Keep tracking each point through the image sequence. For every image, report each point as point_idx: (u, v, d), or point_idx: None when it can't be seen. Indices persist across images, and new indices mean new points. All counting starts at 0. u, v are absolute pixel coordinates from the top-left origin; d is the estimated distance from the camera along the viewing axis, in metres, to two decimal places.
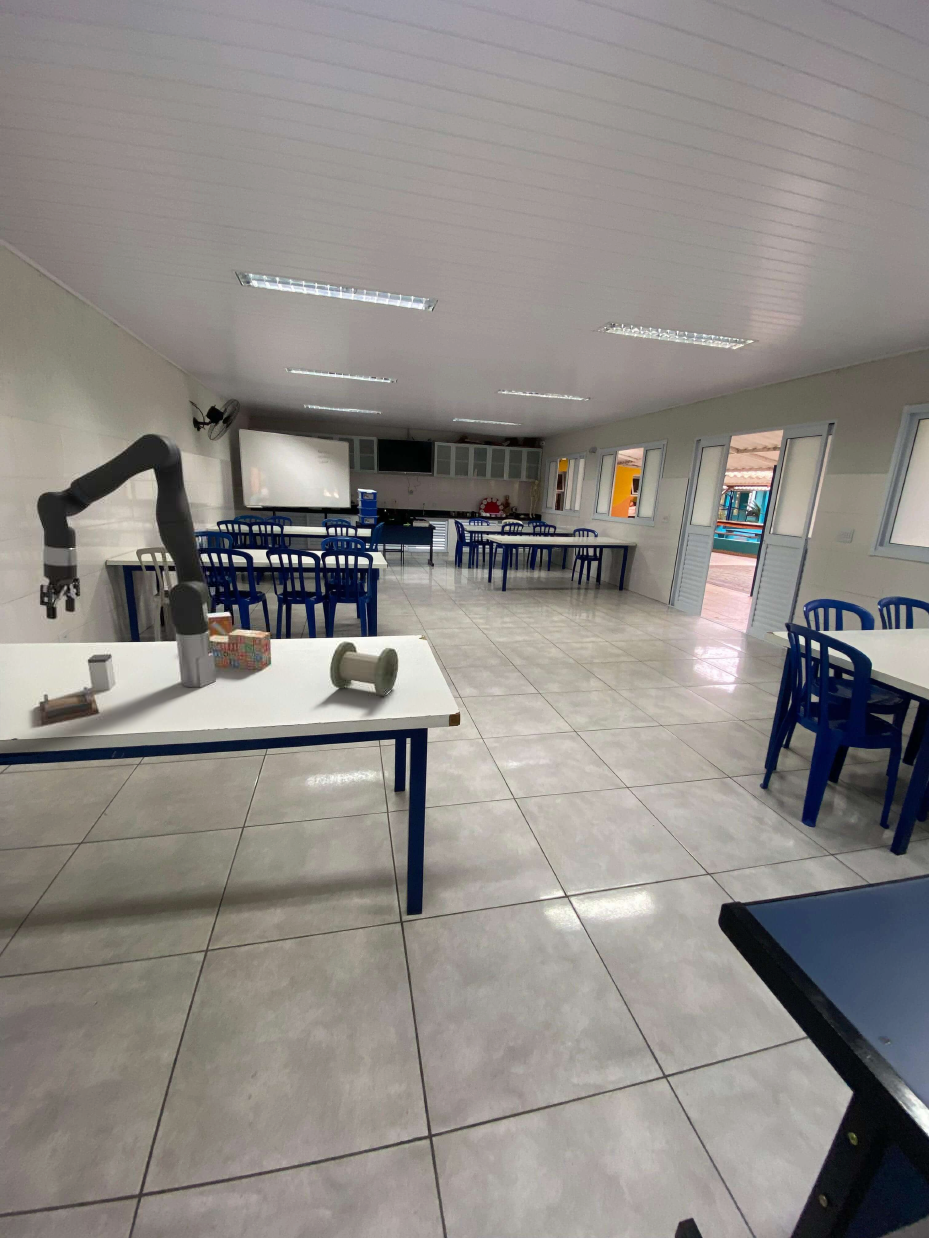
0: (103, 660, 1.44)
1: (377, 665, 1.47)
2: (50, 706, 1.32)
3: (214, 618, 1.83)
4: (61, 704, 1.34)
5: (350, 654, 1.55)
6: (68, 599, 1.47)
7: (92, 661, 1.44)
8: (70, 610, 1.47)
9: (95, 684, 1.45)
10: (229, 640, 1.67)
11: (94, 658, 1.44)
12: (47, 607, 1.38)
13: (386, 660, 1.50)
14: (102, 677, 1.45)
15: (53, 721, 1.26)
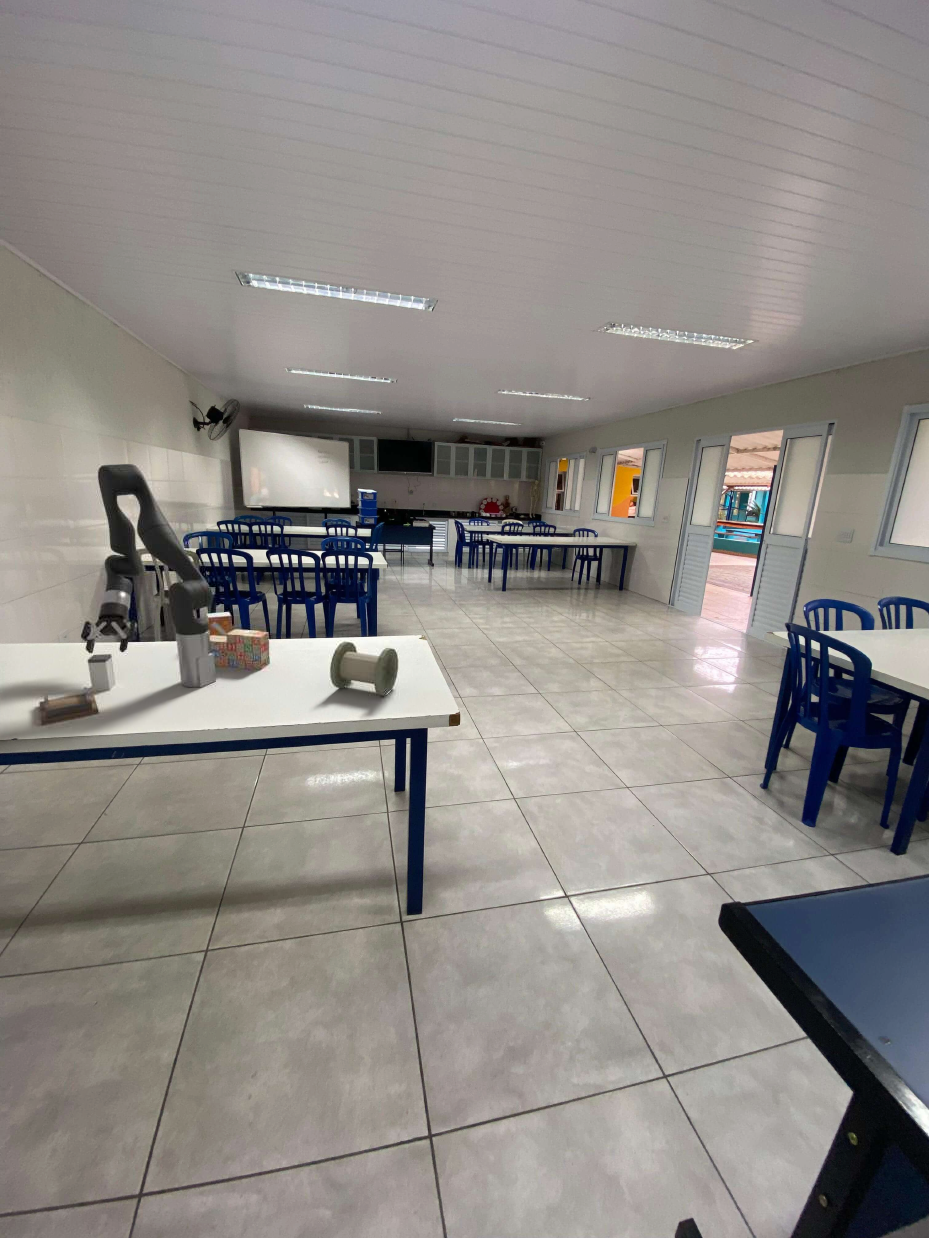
0: (103, 660, 1.44)
1: (377, 665, 1.47)
2: (50, 706, 1.32)
3: (214, 618, 1.83)
4: (61, 704, 1.34)
5: (350, 654, 1.55)
6: None
7: (92, 661, 1.44)
8: None
9: (95, 684, 1.45)
10: (228, 640, 1.67)
11: (94, 658, 1.44)
12: None
13: (386, 660, 1.50)
14: (102, 677, 1.45)
15: (53, 721, 1.26)
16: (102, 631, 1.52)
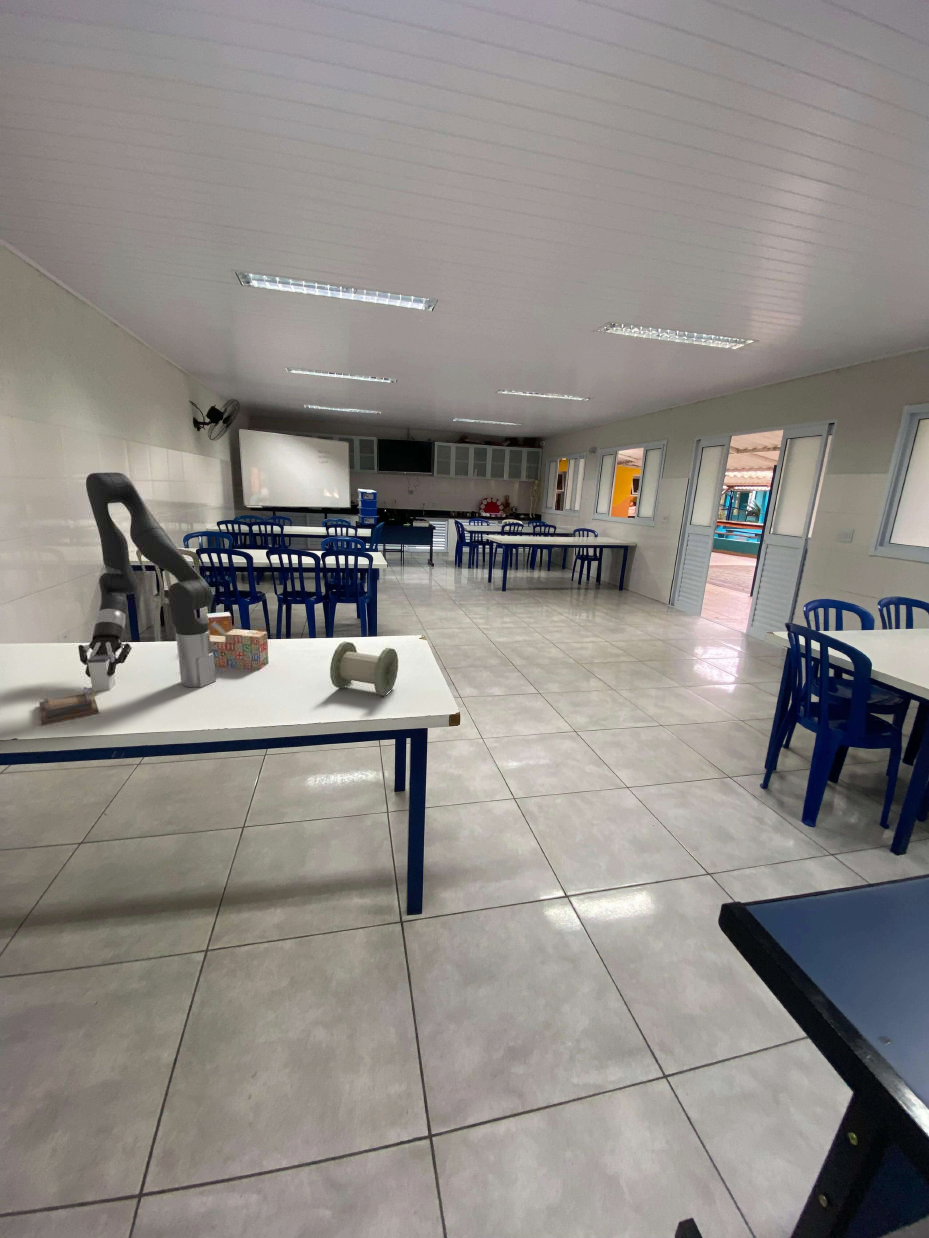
0: (103, 660, 1.44)
1: (377, 665, 1.47)
2: (50, 706, 1.32)
3: (214, 618, 1.83)
4: (61, 704, 1.34)
5: (350, 654, 1.55)
6: None
7: (92, 661, 1.44)
8: None
9: (95, 684, 1.45)
10: (226, 640, 1.67)
11: (94, 658, 1.44)
12: None
13: (386, 660, 1.50)
14: (102, 677, 1.45)
15: (53, 721, 1.26)
16: (99, 652, 1.48)
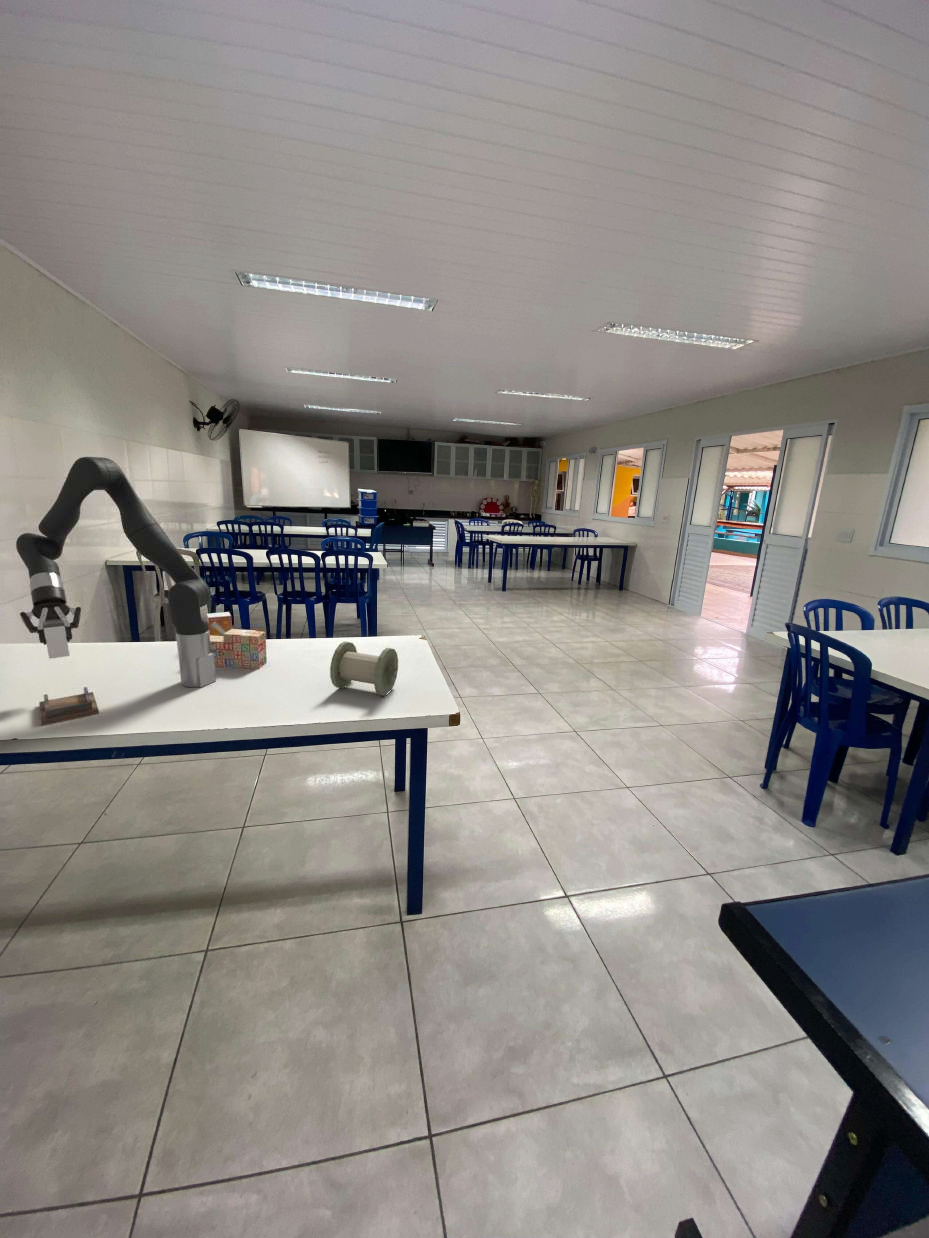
0: (61, 624, 1.36)
1: (377, 665, 1.47)
2: (50, 706, 1.32)
3: (214, 618, 1.83)
4: (61, 704, 1.34)
5: (350, 654, 1.55)
6: None
7: (48, 626, 1.34)
8: (66, 638, 1.37)
9: (53, 650, 1.36)
10: (224, 640, 1.67)
11: (49, 623, 1.35)
12: (38, 633, 1.35)
13: (386, 660, 1.50)
14: (60, 642, 1.36)
15: (53, 721, 1.26)
16: (48, 617, 1.37)
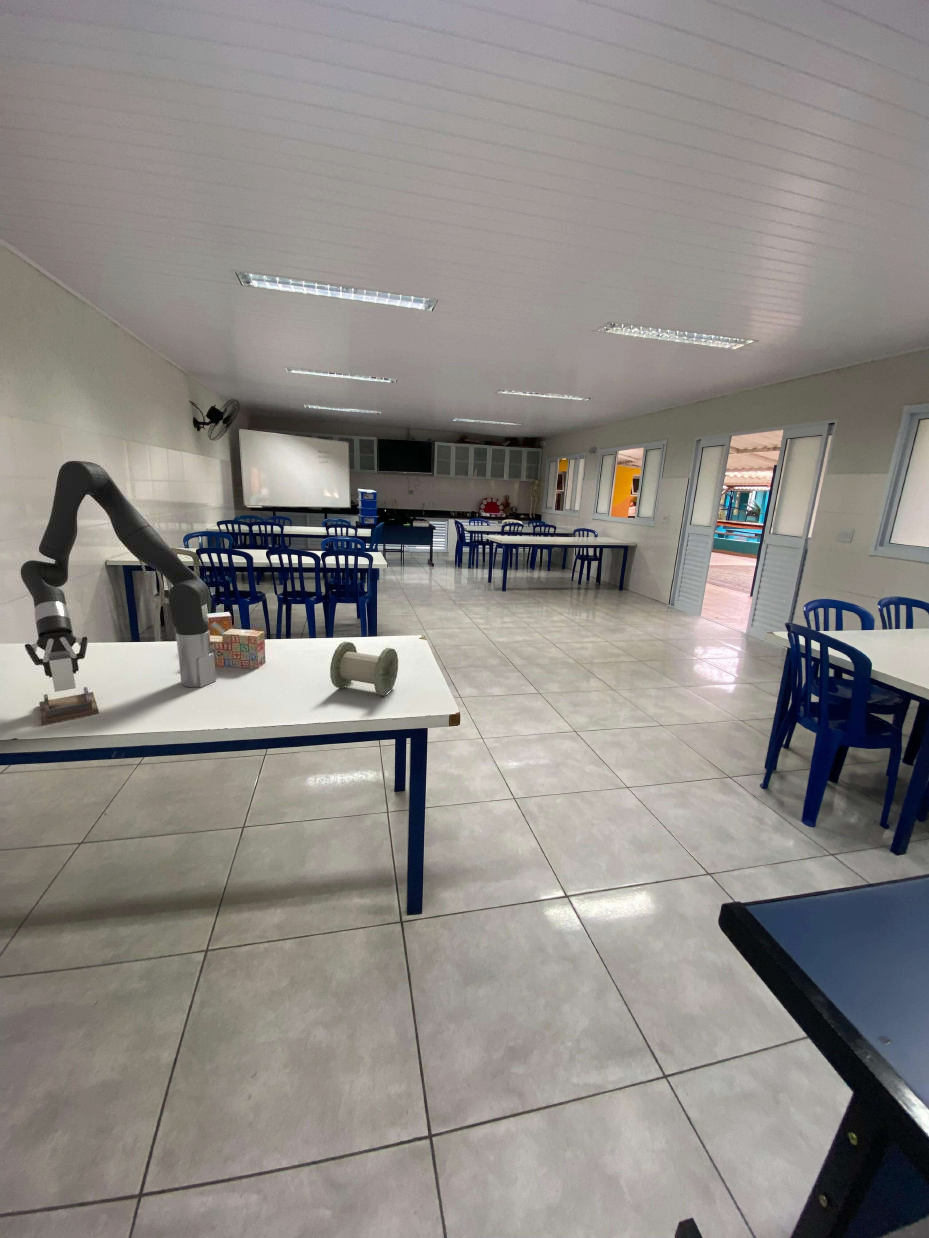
0: (68, 656, 1.31)
1: (377, 665, 1.47)
2: (50, 706, 1.32)
3: (214, 618, 1.83)
4: (61, 704, 1.34)
5: (350, 654, 1.55)
6: None
7: (54, 658, 1.29)
8: None
9: (58, 683, 1.31)
10: (223, 640, 1.67)
11: (55, 655, 1.30)
12: (43, 665, 1.31)
13: (386, 660, 1.50)
14: (66, 675, 1.32)
15: (53, 721, 1.26)
16: (54, 649, 1.33)
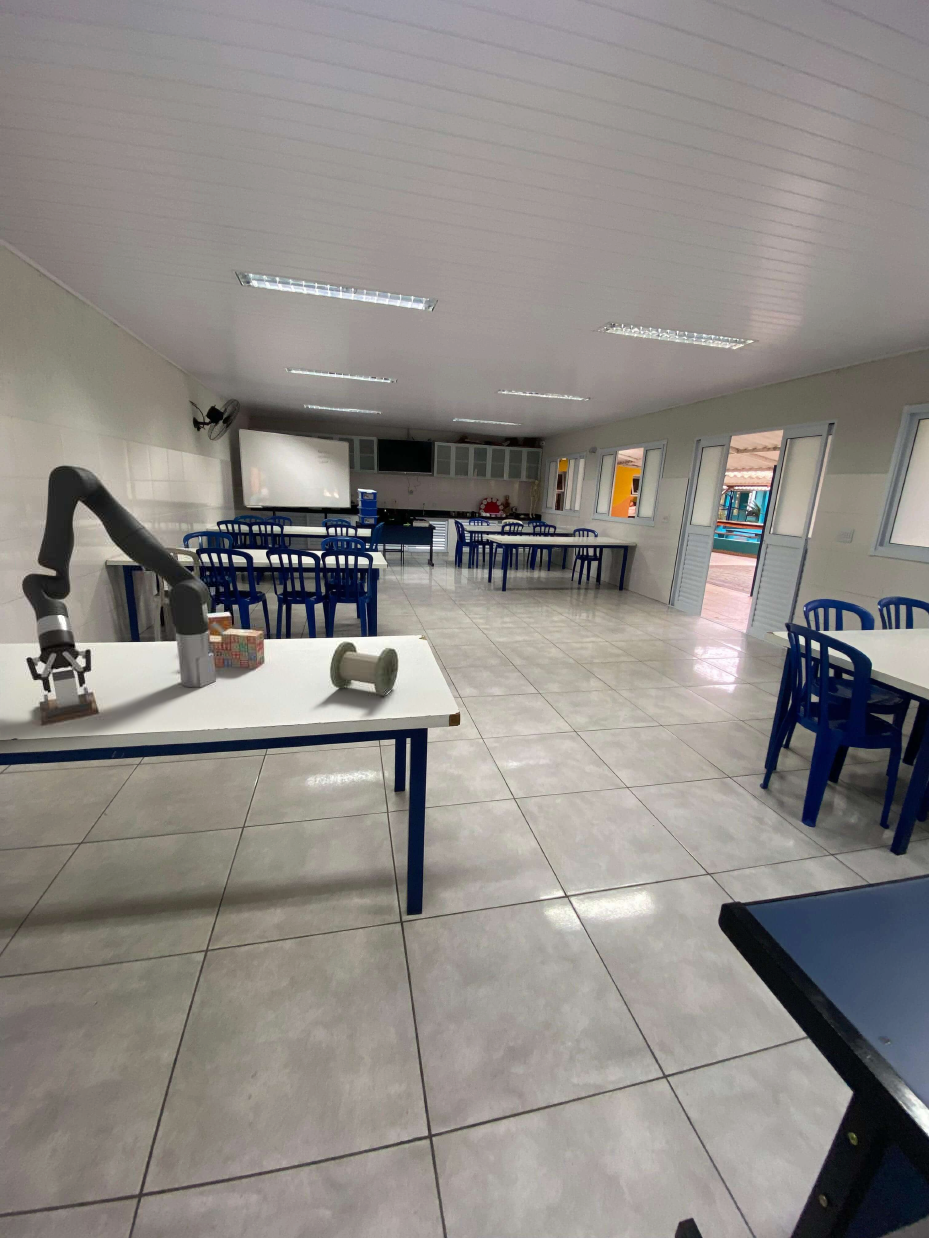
0: (72, 676, 1.29)
1: (377, 665, 1.47)
2: (50, 706, 1.32)
3: (214, 618, 1.83)
4: None
5: (350, 654, 1.55)
6: None
7: (58, 679, 1.28)
8: (79, 684, 1.31)
9: (63, 704, 1.30)
10: (222, 639, 1.67)
11: (59, 675, 1.28)
12: (41, 680, 1.28)
13: (386, 660, 1.50)
14: (71, 695, 1.30)
15: (53, 721, 1.26)
16: (55, 664, 1.30)
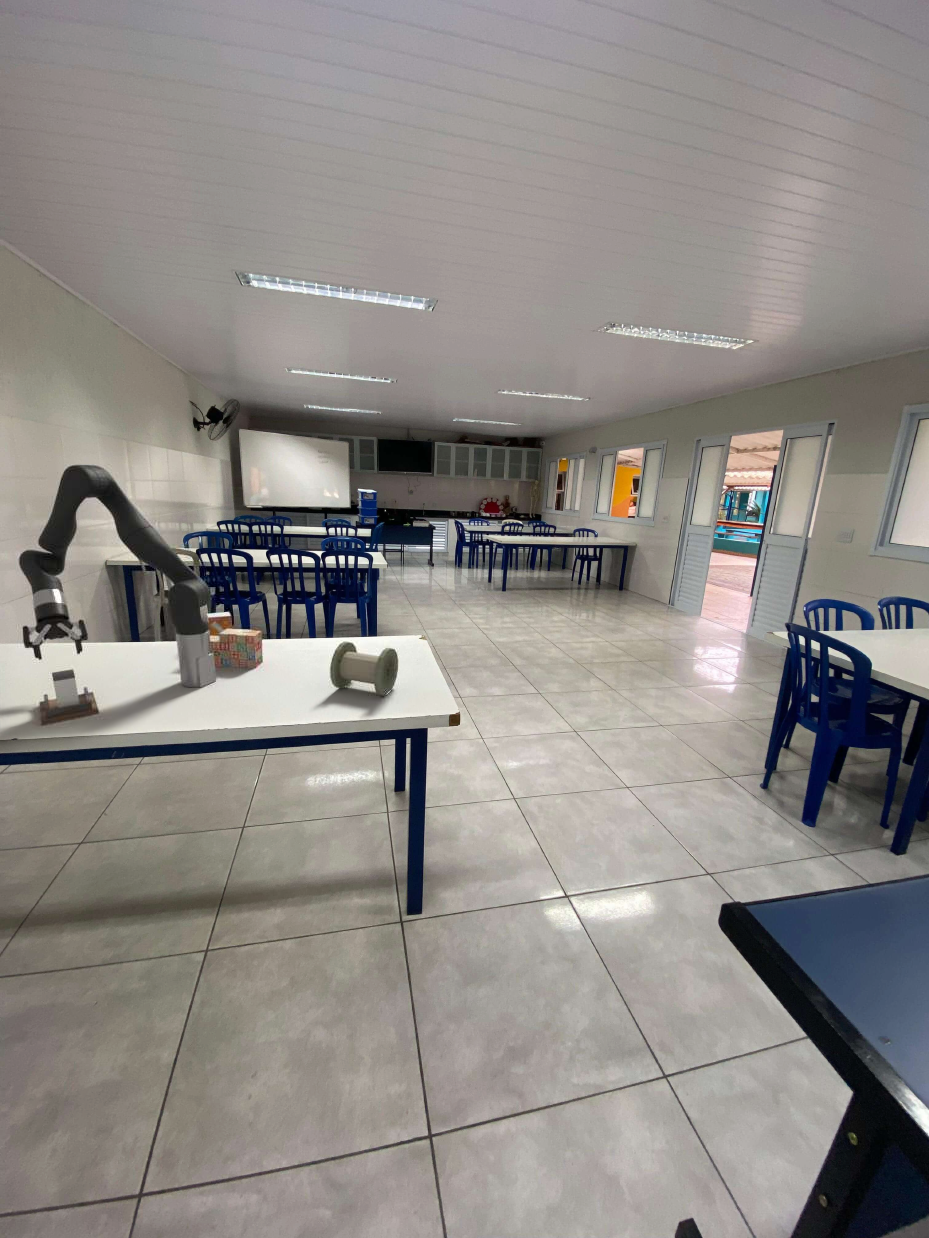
0: (72, 676, 1.29)
1: (377, 665, 1.47)
2: (50, 706, 1.32)
3: (214, 618, 1.83)
4: None
5: (350, 654, 1.55)
6: None
7: (58, 679, 1.28)
8: None
9: (63, 704, 1.30)
10: (220, 639, 1.67)
11: (59, 675, 1.28)
12: (33, 648, 1.36)
13: (386, 660, 1.50)
14: (71, 695, 1.30)
15: (53, 721, 1.26)
16: (48, 634, 1.38)
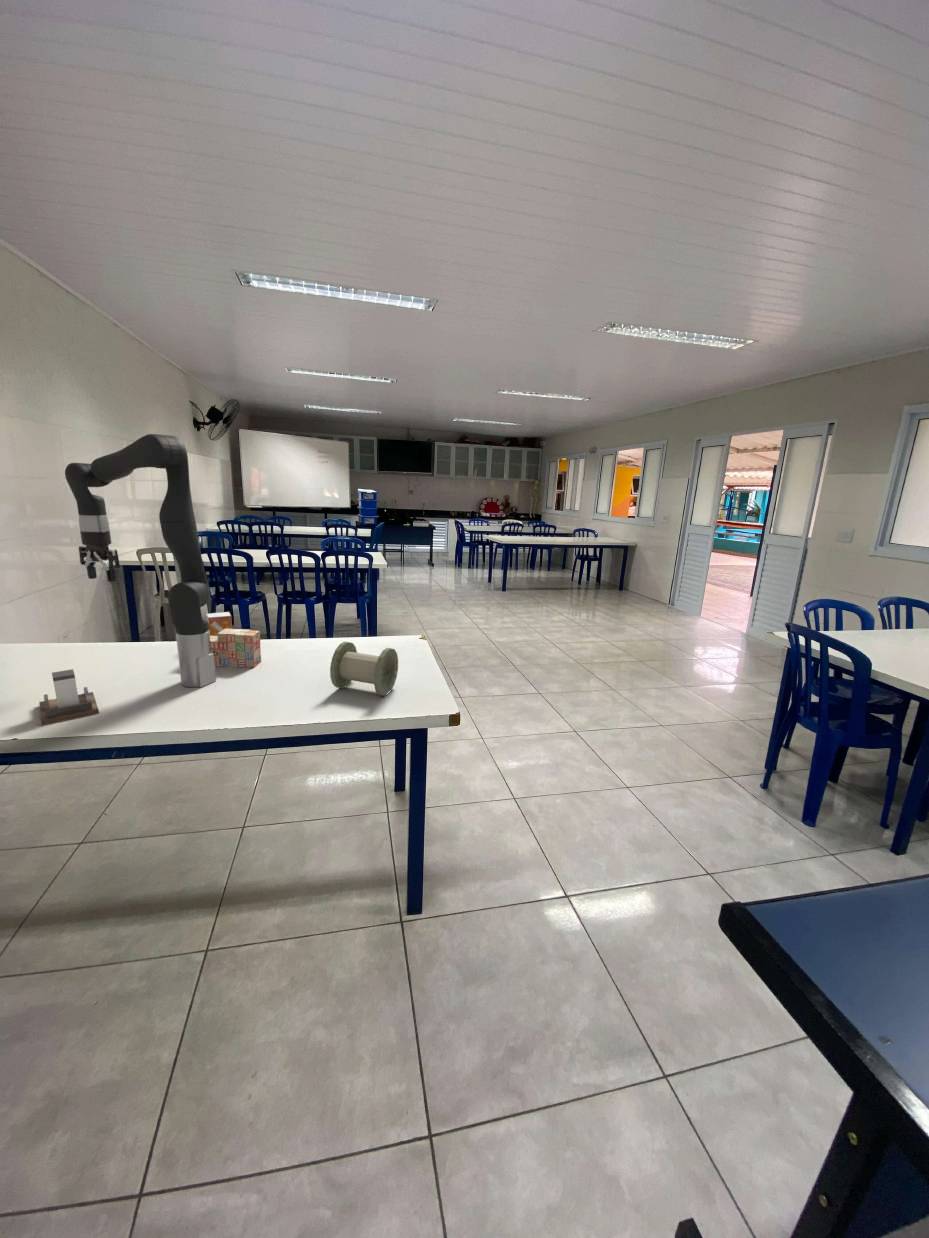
0: (72, 676, 1.29)
1: (377, 665, 1.47)
2: (50, 706, 1.32)
3: (214, 618, 1.83)
4: None
5: (350, 654, 1.55)
6: None
7: (58, 679, 1.28)
8: None
9: (63, 704, 1.30)
10: (219, 639, 1.67)
11: (59, 675, 1.28)
12: None
13: (386, 660, 1.50)
14: (71, 695, 1.30)
15: (53, 721, 1.26)
16: (92, 559, 1.54)
